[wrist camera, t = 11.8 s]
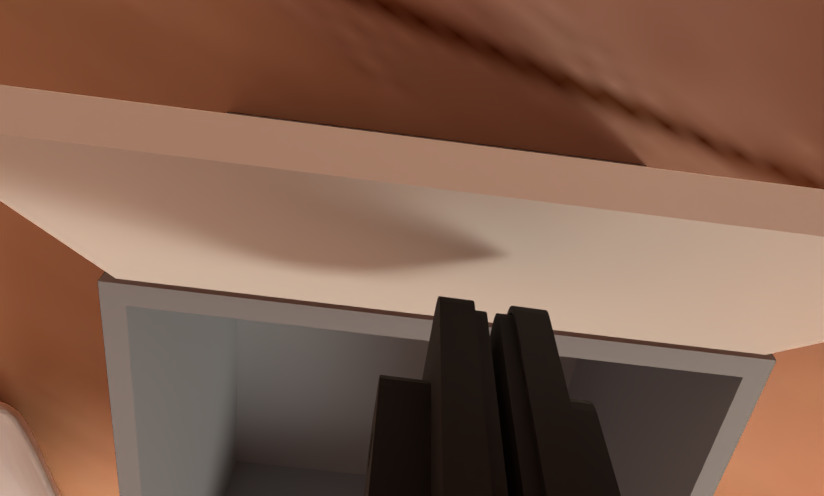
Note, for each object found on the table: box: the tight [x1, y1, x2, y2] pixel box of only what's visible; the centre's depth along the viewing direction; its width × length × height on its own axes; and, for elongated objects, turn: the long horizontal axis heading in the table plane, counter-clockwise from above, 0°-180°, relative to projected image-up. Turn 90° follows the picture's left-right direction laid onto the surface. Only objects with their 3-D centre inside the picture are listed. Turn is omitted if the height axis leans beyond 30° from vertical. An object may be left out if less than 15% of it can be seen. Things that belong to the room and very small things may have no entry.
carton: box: [98, 112, 776, 496], centre depth 26 cm, size 16×18×12 cm
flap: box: [0, 84, 824, 355], centre depth 12 cm, size 15×8×1 cm
